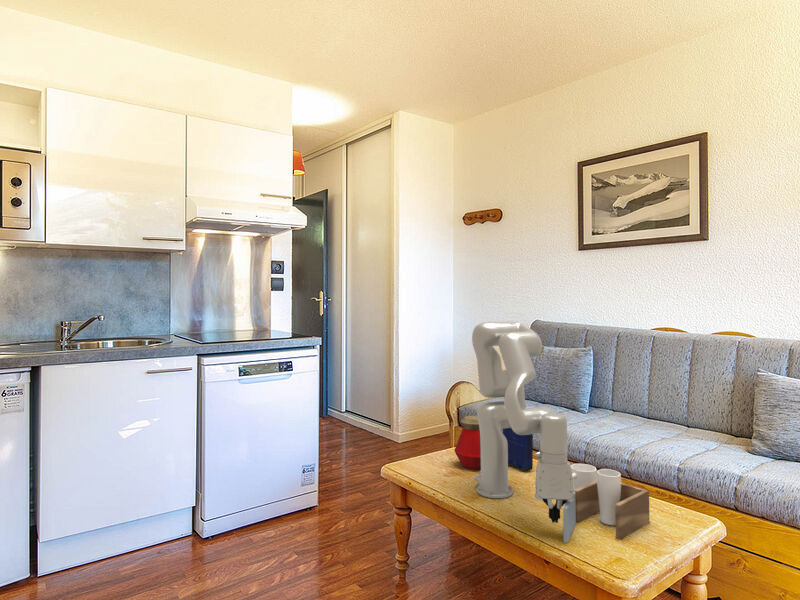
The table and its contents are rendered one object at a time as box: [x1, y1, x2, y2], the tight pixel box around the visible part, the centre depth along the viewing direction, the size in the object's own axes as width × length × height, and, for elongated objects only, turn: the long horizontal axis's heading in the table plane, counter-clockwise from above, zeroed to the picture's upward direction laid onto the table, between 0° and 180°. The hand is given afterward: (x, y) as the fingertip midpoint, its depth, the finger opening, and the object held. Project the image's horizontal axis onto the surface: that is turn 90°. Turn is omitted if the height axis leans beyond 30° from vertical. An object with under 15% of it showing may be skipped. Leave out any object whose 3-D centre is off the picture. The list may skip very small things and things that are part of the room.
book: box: [502, 428, 534, 472], centre depth 198 cm, size 14×5×20 cm, turn 29°
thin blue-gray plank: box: [562, 492, 576, 544], centre depth 141 cm, size 14×1×10 cm, turn 151°
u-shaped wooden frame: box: [574, 481, 650, 540], centre depth 147 cm, size 14×17×10 cm
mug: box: [571, 463, 598, 490], centre depth 165 cm, size 12×8×10 cm
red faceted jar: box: [454, 415, 481, 471], centre depth 199 cm, size 16×14×20 cm
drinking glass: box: [597, 468, 622, 526], centre depth 147 cm, size 7×7×15 cm
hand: (554, 520), depth 140 cm, fingers closed
